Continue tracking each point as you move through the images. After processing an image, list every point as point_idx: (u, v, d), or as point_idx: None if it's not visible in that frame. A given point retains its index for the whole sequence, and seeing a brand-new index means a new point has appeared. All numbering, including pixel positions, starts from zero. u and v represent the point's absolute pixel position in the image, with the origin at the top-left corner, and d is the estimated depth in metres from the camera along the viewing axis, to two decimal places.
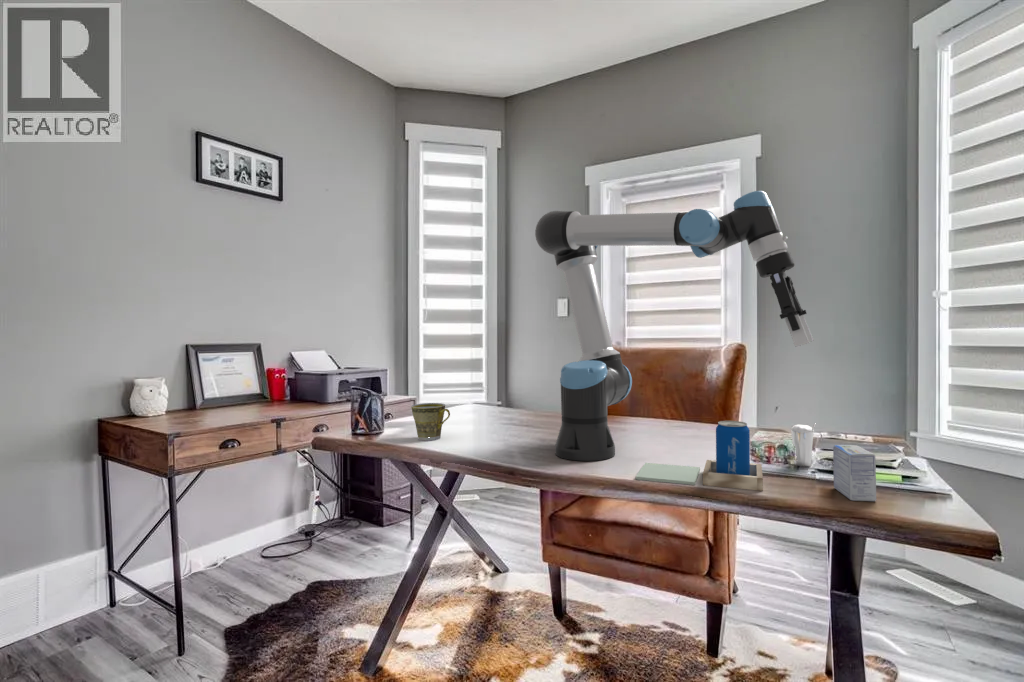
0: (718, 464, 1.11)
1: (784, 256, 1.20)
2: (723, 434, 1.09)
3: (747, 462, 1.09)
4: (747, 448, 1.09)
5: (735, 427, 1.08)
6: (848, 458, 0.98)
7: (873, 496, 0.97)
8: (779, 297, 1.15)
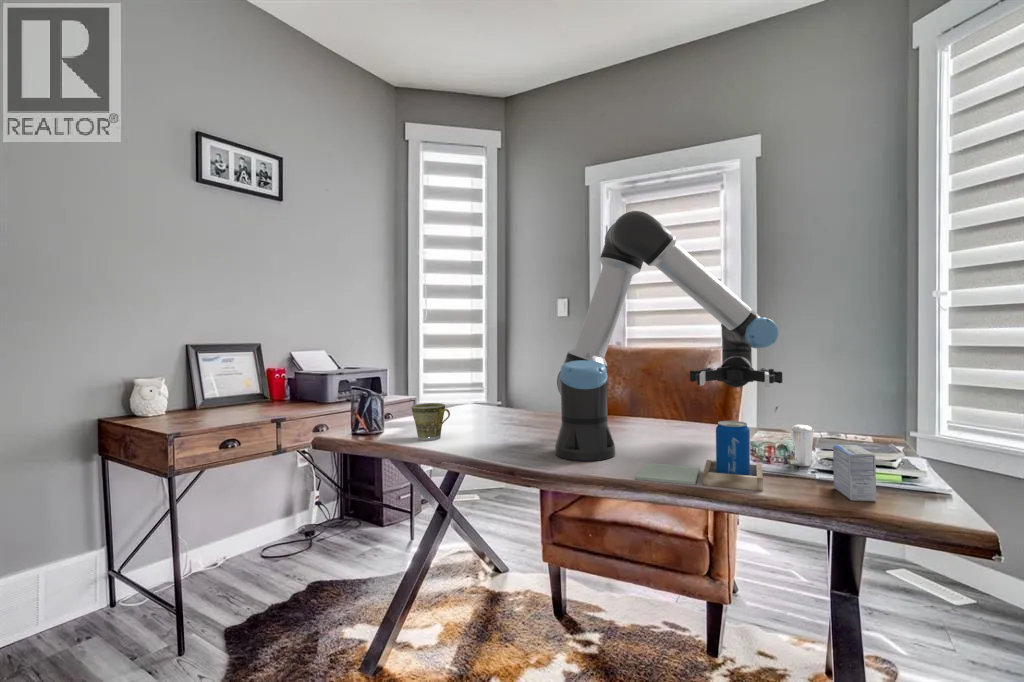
0: (718, 464, 1.11)
1: None
2: (723, 434, 1.09)
3: (747, 462, 1.09)
4: (747, 448, 1.09)
5: (735, 427, 1.08)
6: (848, 458, 0.98)
7: (873, 496, 0.97)
8: None
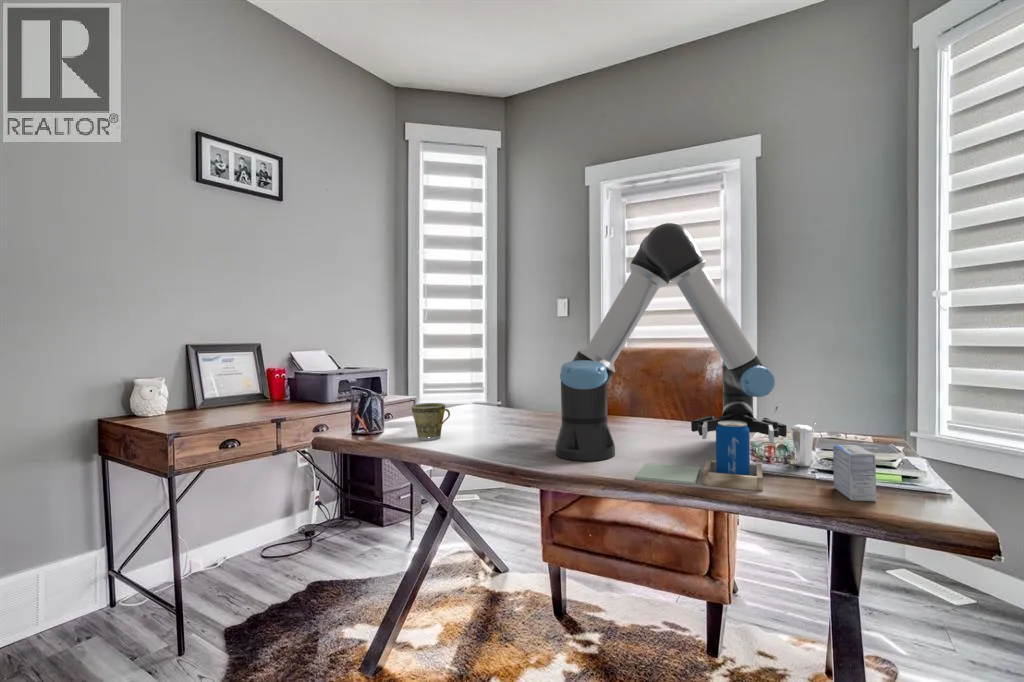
0: (718, 464, 1.11)
1: None
2: (723, 434, 1.09)
3: (747, 462, 1.09)
4: (747, 448, 1.09)
5: (735, 427, 1.08)
6: (848, 458, 0.98)
7: (873, 496, 0.97)
8: None
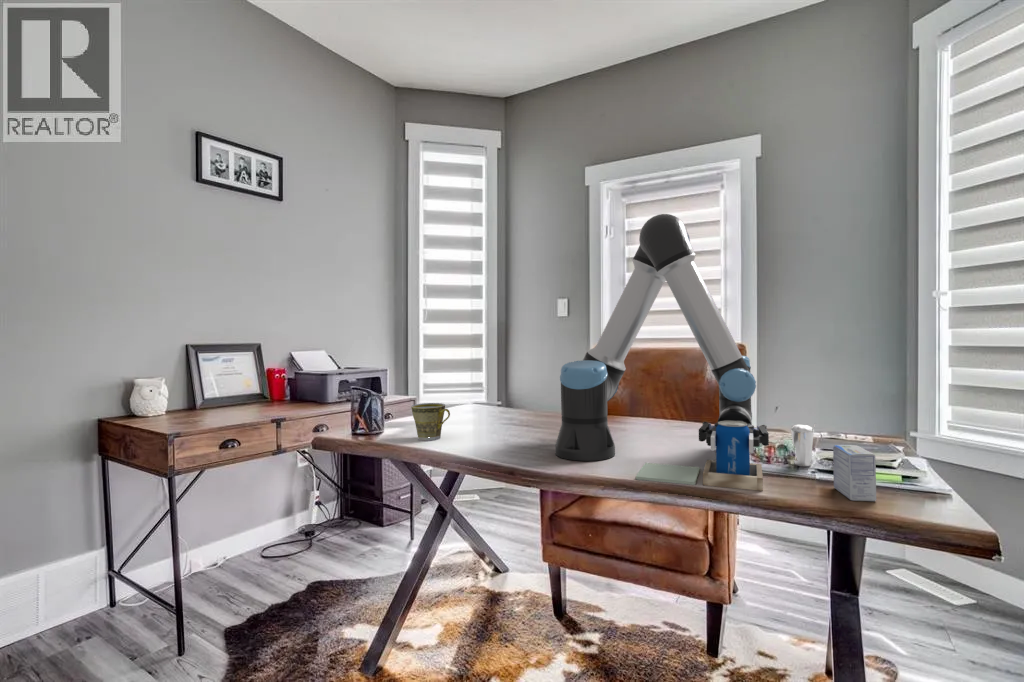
0: (718, 463, 1.11)
1: None
2: (723, 434, 1.09)
3: (747, 462, 1.09)
4: (747, 448, 1.09)
5: (735, 427, 1.08)
6: (848, 458, 0.98)
7: (873, 496, 0.97)
8: None
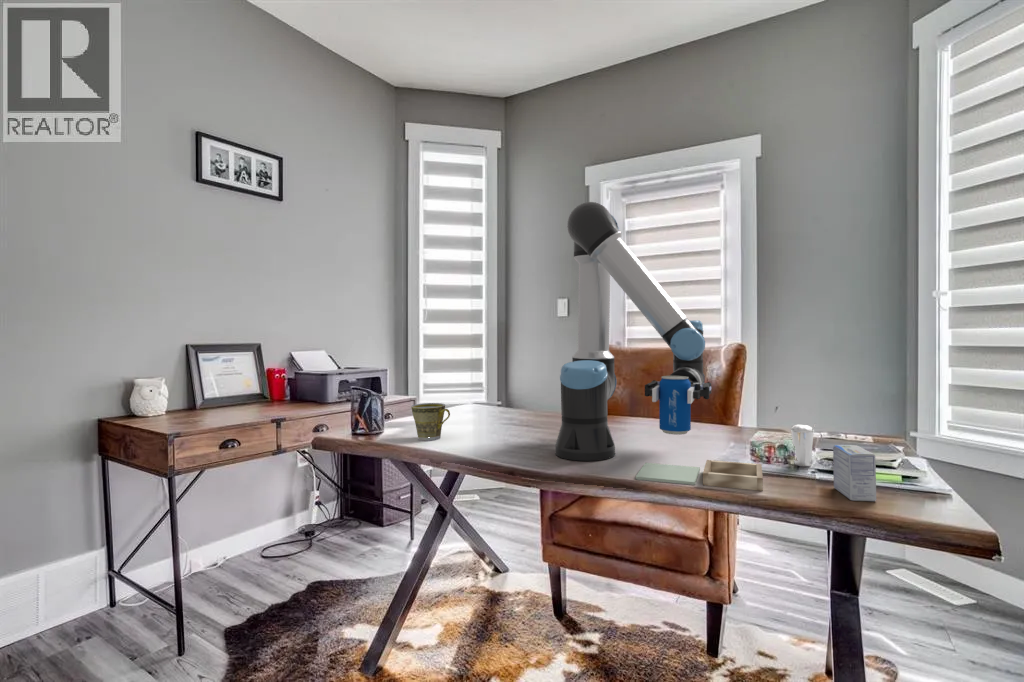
0: (661, 416, 1.15)
1: None
2: (665, 387, 1.14)
3: (687, 413, 1.13)
4: (687, 400, 1.13)
5: (676, 380, 1.13)
6: (848, 458, 0.98)
7: (873, 496, 0.97)
8: None
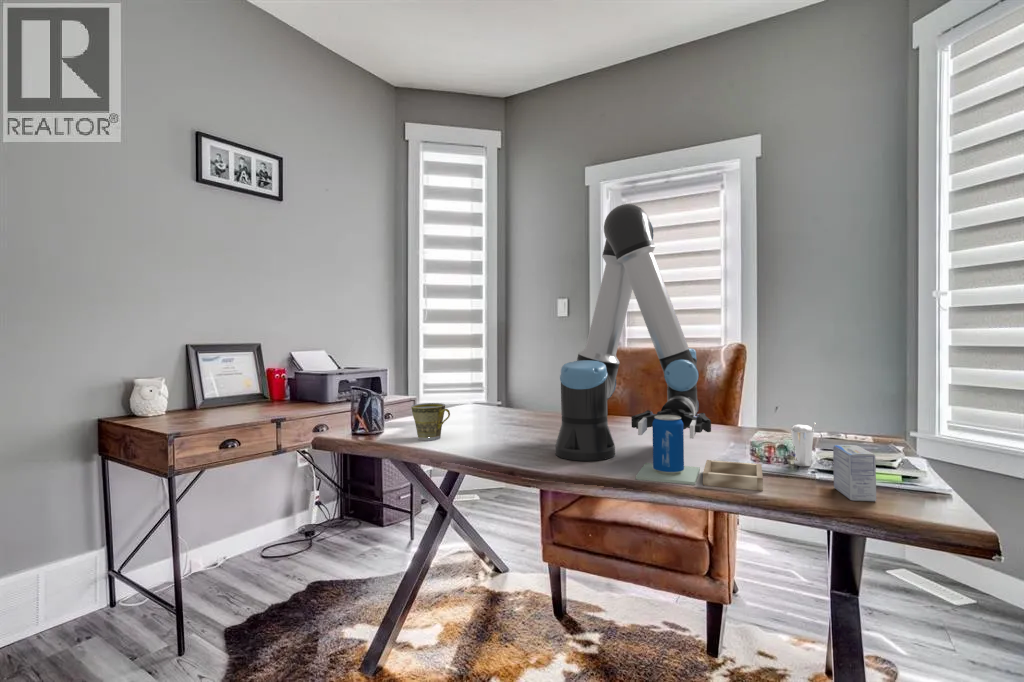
0: (654, 456, 1.16)
1: None
2: (658, 427, 1.15)
3: (680, 454, 1.14)
4: (680, 441, 1.14)
5: (669, 420, 1.14)
6: (848, 458, 0.98)
7: (873, 496, 0.97)
8: None
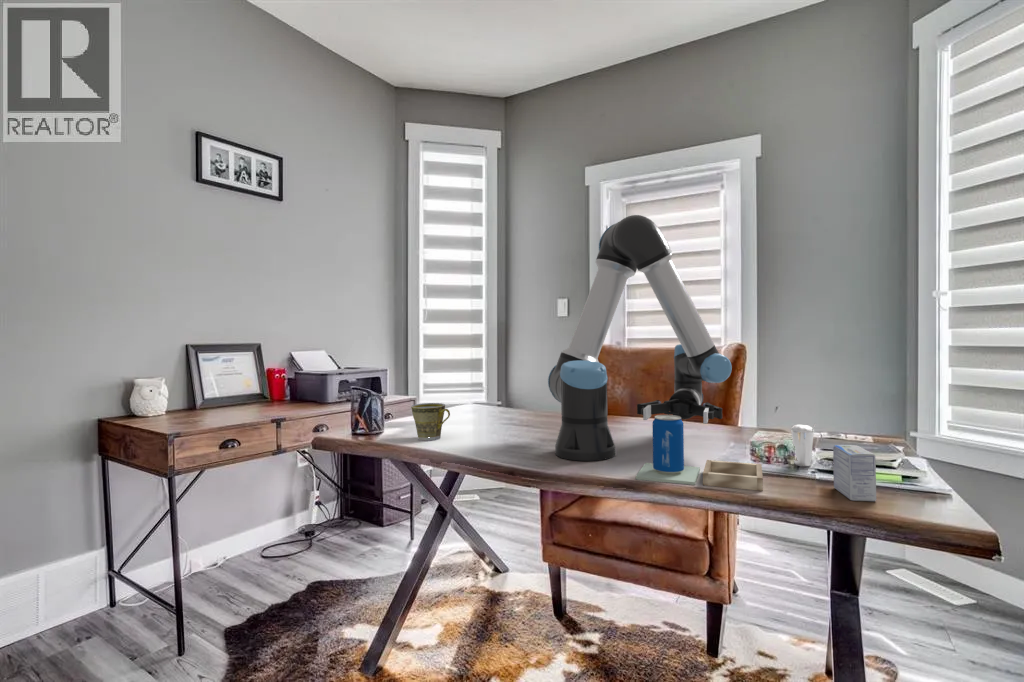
0: (654, 456, 1.16)
1: None
2: (658, 427, 1.15)
3: (680, 454, 1.14)
4: (680, 441, 1.14)
5: (669, 420, 1.14)
6: (848, 458, 0.98)
7: (873, 496, 0.97)
8: None
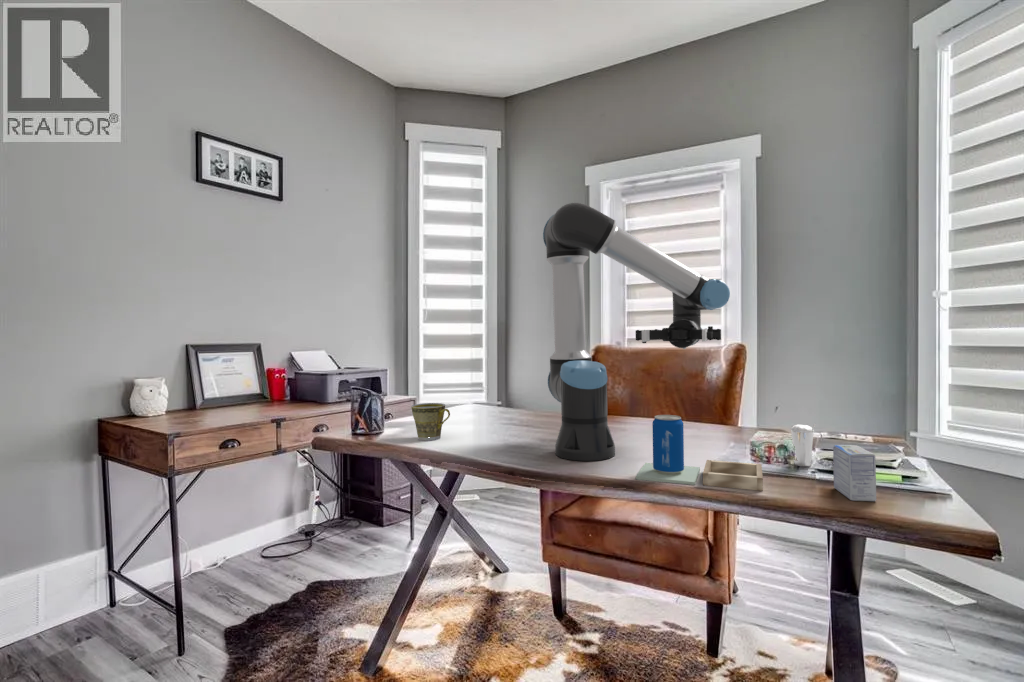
0: (654, 456, 1.16)
1: None
2: (658, 427, 1.15)
3: (680, 454, 1.14)
4: (680, 441, 1.14)
5: (669, 420, 1.14)
6: (848, 458, 0.98)
7: (873, 496, 0.97)
8: None
